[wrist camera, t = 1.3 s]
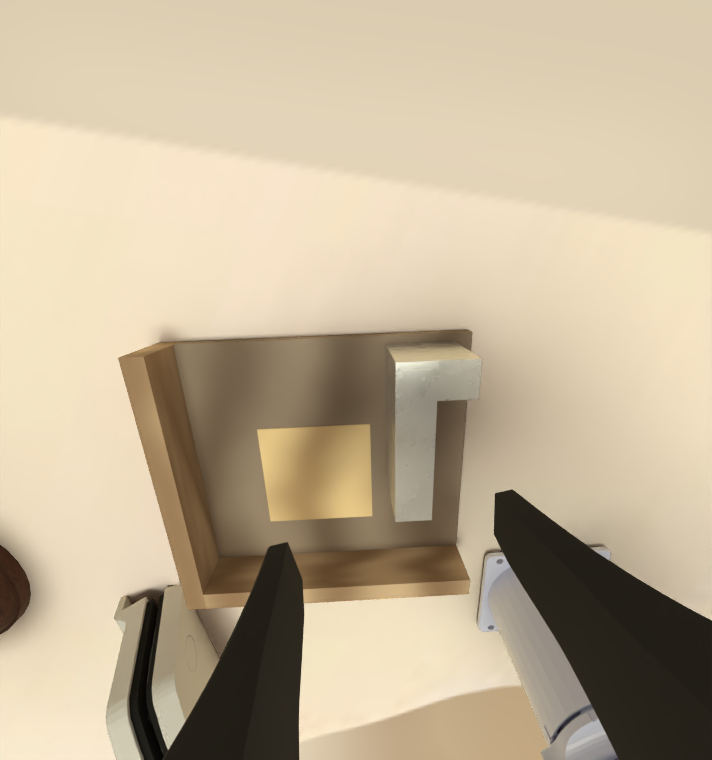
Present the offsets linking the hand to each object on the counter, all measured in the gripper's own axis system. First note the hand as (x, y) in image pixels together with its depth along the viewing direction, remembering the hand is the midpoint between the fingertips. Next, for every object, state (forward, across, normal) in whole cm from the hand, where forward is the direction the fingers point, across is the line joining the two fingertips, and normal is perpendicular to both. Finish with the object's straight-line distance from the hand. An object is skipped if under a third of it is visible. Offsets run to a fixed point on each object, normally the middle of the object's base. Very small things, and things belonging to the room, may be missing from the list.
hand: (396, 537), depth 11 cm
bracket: (+9, -2, +1) cm, 10 cm away
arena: (+10, +2, +4) cm, 11 cm away
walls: (+10, +2, +4) cm, 11 cm away
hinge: (+9, +17, +21) cm, 28 cm away
